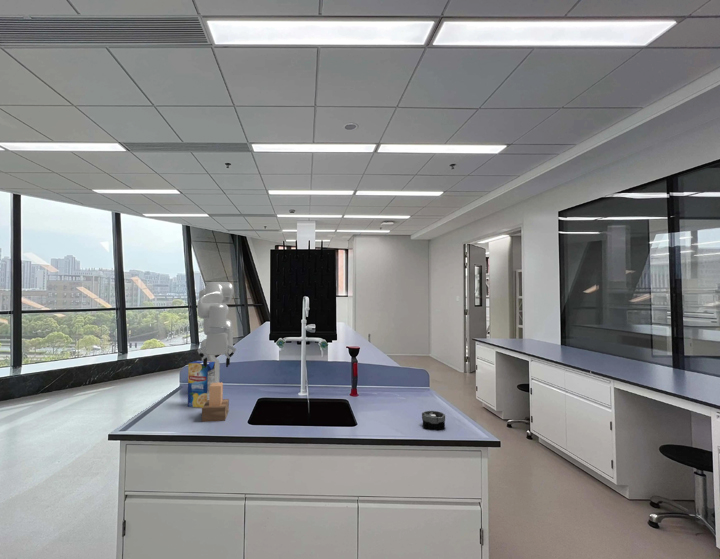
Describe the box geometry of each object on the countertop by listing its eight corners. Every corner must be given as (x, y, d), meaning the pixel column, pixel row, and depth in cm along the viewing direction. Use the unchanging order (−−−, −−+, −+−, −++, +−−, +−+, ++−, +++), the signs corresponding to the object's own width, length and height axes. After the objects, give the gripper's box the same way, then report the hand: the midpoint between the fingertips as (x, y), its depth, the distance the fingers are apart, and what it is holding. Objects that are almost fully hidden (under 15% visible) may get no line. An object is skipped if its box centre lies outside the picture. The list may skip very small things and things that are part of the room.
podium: (207, 412, 194) (207, 400, 194) (228, 411, 196) (228, 399, 196) (201, 421, 180) (202, 408, 180) (224, 420, 182) (225, 407, 182)
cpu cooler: (421, 409, 183) (444, 410, 182) (421, 422, 183) (444, 423, 182) (422, 416, 173) (446, 418, 171) (422, 430, 173) (446, 431, 171)
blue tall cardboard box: (207, 408, 201) (207, 364, 202) (187, 406, 203) (188, 363, 204) (214, 404, 208) (215, 361, 208) (195, 402, 210) (196, 360, 210)
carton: (211, 401, 191) (211, 382, 191) (222, 401, 192) (222, 382, 192) (209, 406, 184) (209, 386, 184) (220, 405, 185) (220, 385, 185)
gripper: (237, 329, 194) (236, 364, 194) (199, 329, 191) (198, 365, 191) (235, 331, 187) (234, 367, 187) (196, 331, 184) (195, 368, 183)
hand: (216, 366), depth 189 cm, fingers open, 9 cm apart
